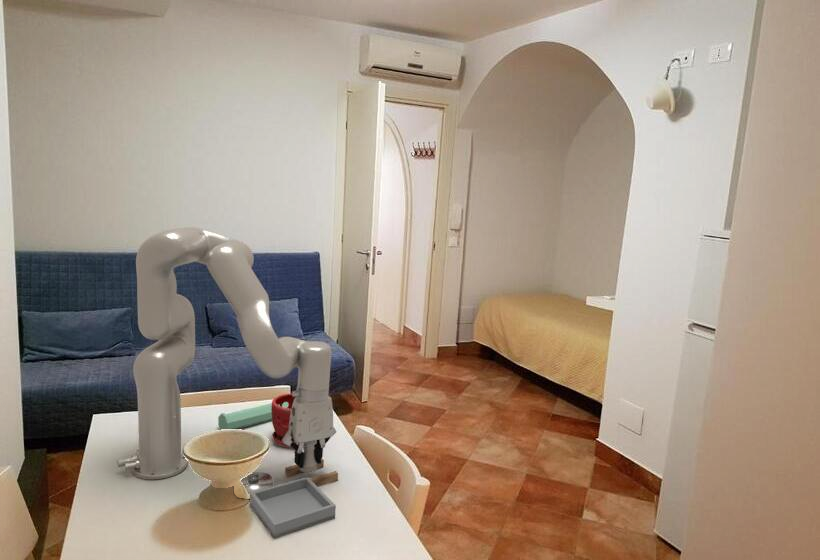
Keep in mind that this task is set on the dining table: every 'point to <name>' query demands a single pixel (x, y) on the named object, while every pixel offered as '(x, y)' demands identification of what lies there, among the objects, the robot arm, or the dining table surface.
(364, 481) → the dining table surface
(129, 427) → the dining table surface
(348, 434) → the dining table surface
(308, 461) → the rook chess piece
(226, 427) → the mint green rod
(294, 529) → the tray
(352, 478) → the dining table surface
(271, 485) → the pulley
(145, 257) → the robot arm
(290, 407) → the plant pot
